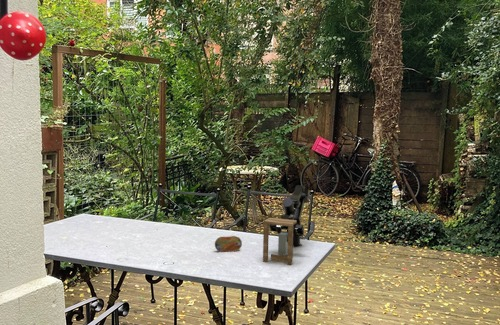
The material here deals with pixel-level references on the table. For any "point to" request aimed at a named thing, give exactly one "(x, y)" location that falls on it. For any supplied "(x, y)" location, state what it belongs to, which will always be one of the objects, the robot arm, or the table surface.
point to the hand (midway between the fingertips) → (283, 241)
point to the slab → (283, 243)
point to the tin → (228, 244)
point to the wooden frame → (290, 240)
